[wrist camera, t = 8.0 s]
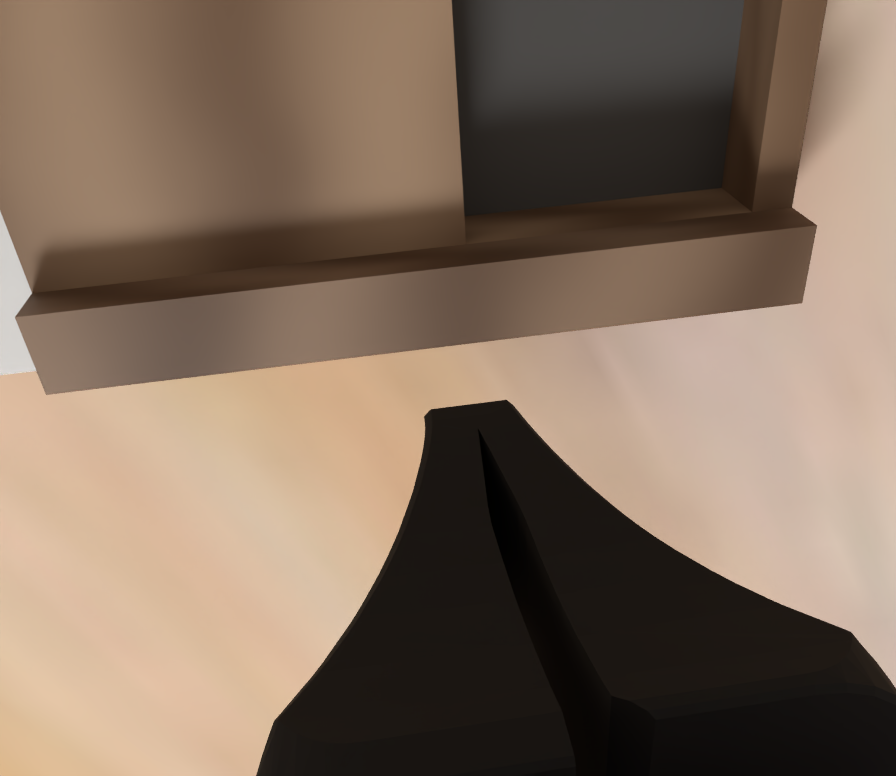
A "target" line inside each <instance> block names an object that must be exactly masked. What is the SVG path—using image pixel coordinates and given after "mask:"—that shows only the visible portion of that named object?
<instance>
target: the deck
mask: <svg viewBox="0 0 896 776" xmlns="http://www.w3.org/2000/svg"><path fill="white" fill-rule="evenodd" d="M826 5H827V0H0V375H6V374H15V373H23V372H31V371H37V373H38V376H39V378H40V381H41V383H42V386H43V388H44V391H45V393H46V395H49V394H57V393H65V392H73V391H82V390H90V389H98V388H106V387H115V386H123V385H131V384H139V383H148V382H156V381H164V380H172V379H181V378H189V377H197V376H205V375H214V374H222V373H230V372H238V371H247V370H255V369H263V368H271V367H280V366H288V365H296V364H304V363H313V362H321V361H329V360H337V359H346V358H354V357H362V356H370V355H379V354H387V353H395V352H403V351H412V350H420V349H428V348H436V347H444V346H453V345H461V344H469V343H477V342H486V341H494V340H502V339H510V338H519V337H527V336H535V335H543V334H552V333H560V332H568V331H576V330H585V329H593V328H601V327H609V326H618V325H626V324H634V323H642V322H651V321H659V320H667V319H675V318H684V317H692V316H700V315H708V314H717V313H725V312H733V311H741V310H750V309H758V308H766V307H774V306H783V305H791V304H799V303H802V301H803V296H804V290H805V285H806V280H807V275H808V269H809V264H810V259H811V254H812V248H813V243H814V238H815V233H816V228H817V225H816V224H814V223H813V222H811V221H810V220H809V219H807V218H806V217H804V216H803V215H802V214H800V213H799V212H797V211H796V210H795V209H793V208H792V203H793V198H794V192H795V186H796V180H797V174H798V168H799V163H800V157H801V151H802V145H803V139H804V133H805V127H806V122H807V116H808V110H809V104H810V98H811V92H812V87H813V81H814V75H815V69H816V63H817V57H818V51H819V46H820V40H821V34H822V28H823V22H824V16H825V11H826Z"/></svg>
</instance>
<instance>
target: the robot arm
mask: <svg viewBox="0 0 896 776" xmlns="http://www.w3.org/2000/svg"><path fill="white" fill-rule="evenodd" d="M424 418H425V440H424V447H423V453H422V458H421V463H420V467H419V471H418V474H417V478H416V482H415V486H414V490H413V493H412V496H411V499H410V502H409V505H408V507H407V510H406V513H405V516H404V518H403V521H402V524H401V527H400V529H399V532H398V534H397V537H396V539H395V541H394V544H393V546H392V548H391V550H390V553H389V555H388V557H387V559H386V561H385V563H384V565H383V567H382V569H381V571H380V573H379V575H378V577H377V579H376V581H375V583H374V584H373V586H372V588H371V590H370V591H369V593H368V595H367V597H366V599H365V600H364V602H363V604H362V606H361V607H360V609H359V611H358V612H357V614H356V616H355V617H354V619H353V620H352V622H351V623H350V625H349V626H348V628H347V629H346V631H345V632H344V633H343V635H342V636H341V638H340V639H339V641H338V642H337V643H336V645H335V646H334V648H333V649H332V651H331V652H330V653H329V655H328V656H327V658H326V659H325V660H324V662H323V663H322V665H321V666H320V667H319V668H318V670H317V671H316V672H315V674H314V675H313V676H312V677H311V679H310V680H309V681H308V682H307V683H306V684H305V686H304V687H303V688H302V689H301V690H300V691H299V693H298V694H297V695H296V696H295V697H294V699H293V700H292V701H291V702H290V703H289V704H288V706H287V707H286V708H285V709H284V710H283V712H282V713H281V714H280V715H279V716H278V717H277V718H276V720H275V721H274V723H273V726H272V729H271V731H270V734H269V737H268V740H267V743H266V746H265V749H264V752H263V755H262V758H261V762H260V765H259V768H258V772H257V775H256V776H896V688H895V687H894V685H893V684H892V682H891V681H890V679H889V678H888V677H887V675H886V674H885V673H884V671H883V670H882V669H881V667H880V666H879V665H878V664H877V662H876V661H875V660H874V659H873V657H872V656H871V655H870V654H869V653H868V652H867V651H866V649H865V648H864V647H863V646H862V645H861V644H860V643H859V641H858V640H857V639H856V638H855V636H854V635H853V634H852V633H851V632H850V631H847V630H845V629H842V628H840V627H837V626H835V625H832V624H829V623H827V622H824V621H822V620H819V619H817V618H814V617H812V616H809V615H807V614H804V613H801V612H799V611H796V610H794V609H791V608H789V607H786V606H784V605H781V604H779V603H777V602H774V601H772V600H770V599H768V598H766V597H764V596H761V595H759V594H757V593H755V592H753V591H751V590H749V589H747V588H745V587H742V586H740V585H738V584H736V583H734V582H732V581H730V580H728V579H726V578H724V577H723V576H721V575H719V574H717V573H715V572H713V571H711V570H709V569H708V568H706V567H704V566H702V565H701V564H699V563H697V562H695V561H694V560H692V559H690V558H689V557H687V556H685V555H683V554H682V553H680V552H678V551H676V550H675V549H673V548H672V547H670V546H668V545H667V544H665V543H664V542H662V541H661V540H659V539H657V538H656V537H654V536H653V535H652V534H650V533H649V532H647V531H646V530H644V529H643V528H642V527H640V526H639V525H637V524H636V523H635V522H633V521H632V520H631V519H629V518H628V517H627V516H625V515H624V514H623V513H622V512H620V511H619V510H618V509H617V508H615V507H614V506H613V505H612V504H610V503H609V502H608V501H607V500H606V499H604V498H603V497H602V496H601V495H600V494H599V493H597V492H596V491H595V490H594V489H593V488H592V487H590V486H589V485H588V484H587V483H586V482H585V481H584V480H583V479H582V478H581V477H579V476H578V475H577V474H576V473H575V472H574V471H573V470H572V469H571V468H570V467H569V466H568V465H567V464H566V463H565V462H564V461H563V460H562V459H561V458H560V457H559V456H558V455H557V454H556V453H555V452H554V451H553V450H552V449H551V448H550V447H549V446H548V445H547V444H546V443H545V442H544V440H543V439H542V438H541V437H540V436H539V435H538V434H537V433H536V432H535V431H534V429H533V428H532V427H531V426H530V425H529V424H528V423H527V421H526V420H525V419H524V418H523V417H522V415H521V414H520V413H519V412H518V411H517V409H516V408H515V407H514V406H513V405H512V404H511V403H510V402H508V401H507V400H502V401H494V402H486V403H478V404H470V405H462V406H454V407H446V408H439V409H431V410H430V411H429V412H428V413H427V414H426V415H425V416H424Z"/></svg>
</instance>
